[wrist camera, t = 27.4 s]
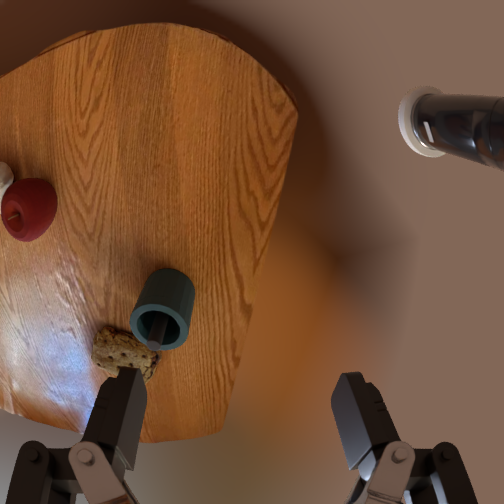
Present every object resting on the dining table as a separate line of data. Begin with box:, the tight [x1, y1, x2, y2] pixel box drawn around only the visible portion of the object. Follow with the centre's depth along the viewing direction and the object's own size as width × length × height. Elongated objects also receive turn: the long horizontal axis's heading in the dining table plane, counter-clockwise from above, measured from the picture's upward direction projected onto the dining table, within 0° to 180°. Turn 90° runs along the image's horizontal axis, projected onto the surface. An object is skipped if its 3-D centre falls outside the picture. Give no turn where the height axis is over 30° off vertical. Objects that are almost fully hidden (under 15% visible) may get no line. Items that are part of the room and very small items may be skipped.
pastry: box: [91, 326, 162, 384], centre depth 53 cm, size 17×17×3 cm
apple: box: [1, 178, 57, 242], centre depth 35 cm, size 10×10×10 cm
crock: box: [130, 269, 195, 350], centre depth 44 cm, size 9×9×10 cm
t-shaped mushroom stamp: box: [146, 311, 169, 351], centre depth 42 cm, size 4×3×13 cm
